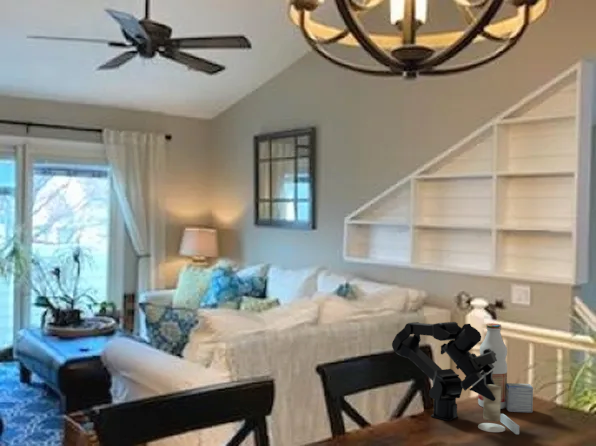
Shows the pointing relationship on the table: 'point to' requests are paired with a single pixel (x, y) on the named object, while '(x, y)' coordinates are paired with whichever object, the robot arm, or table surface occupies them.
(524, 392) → the medicine box
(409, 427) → the table surface
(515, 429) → the acrylic wall
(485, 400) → the birch cylinder
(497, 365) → the fruit juice
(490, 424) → the pad
